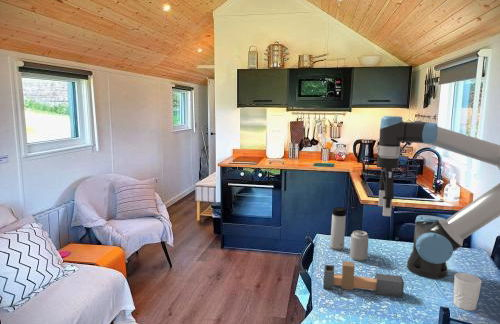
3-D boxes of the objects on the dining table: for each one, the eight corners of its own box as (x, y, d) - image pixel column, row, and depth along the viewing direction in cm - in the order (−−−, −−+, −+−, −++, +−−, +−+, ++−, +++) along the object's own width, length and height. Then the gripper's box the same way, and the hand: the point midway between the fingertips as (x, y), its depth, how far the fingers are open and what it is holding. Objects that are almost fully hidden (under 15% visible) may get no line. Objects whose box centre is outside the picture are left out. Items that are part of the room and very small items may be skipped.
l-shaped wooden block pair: (376, 287, 133) (378, 264, 131) (378, 293, 129) (380, 269, 128) (326, 281, 137) (327, 259, 135) (326, 286, 133) (327, 263, 132)
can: (369, 257, 161) (370, 231, 159) (364, 263, 155) (366, 236, 153) (352, 253, 165) (354, 228, 163) (347, 259, 159) (349, 233, 157)
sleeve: (400, 291, 132) (401, 276, 131) (402, 298, 127) (404, 282, 126) (374, 287, 134) (375, 273, 133) (375, 294, 129) (377, 279, 128)
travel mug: (344, 251, 167) (347, 210, 164) (330, 250, 168) (332, 208, 165) (344, 246, 173) (346, 206, 170) (330, 245, 174) (332, 205, 171)
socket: (333, 282, 137) (334, 265, 136) (333, 289, 132) (334, 272, 130) (323, 281, 138) (324, 264, 137) (323, 288, 132) (324, 271, 131)
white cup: (478, 314, 118) (481, 286, 116) (450, 307, 122) (453, 279, 120) (478, 303, 124) (481, 276, 123) (452, 297, 128) (454, 270, 127)
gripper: (374, 152, 150) (370, 201, 153) (382, 161, 125) (377, 219, 129) (393, 153, 148) (389, 203, 151) (405, 162, 124) (400, 221, 127)
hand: (384, 210), depth 140 cm, fingers open, 13 cm apart
